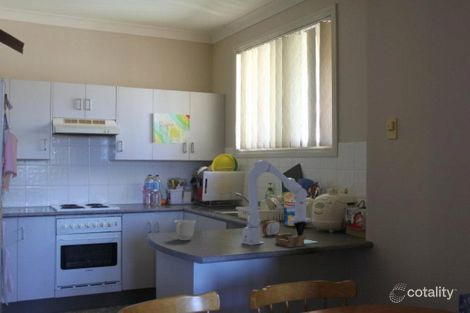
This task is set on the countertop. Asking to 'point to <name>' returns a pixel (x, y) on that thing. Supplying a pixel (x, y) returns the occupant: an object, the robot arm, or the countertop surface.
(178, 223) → the teacup
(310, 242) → the cover plate
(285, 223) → the beverage box
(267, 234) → the tin
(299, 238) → the box
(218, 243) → the countertop surface
